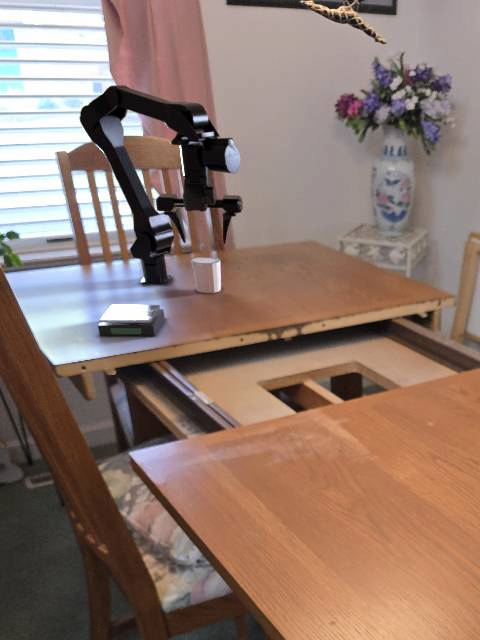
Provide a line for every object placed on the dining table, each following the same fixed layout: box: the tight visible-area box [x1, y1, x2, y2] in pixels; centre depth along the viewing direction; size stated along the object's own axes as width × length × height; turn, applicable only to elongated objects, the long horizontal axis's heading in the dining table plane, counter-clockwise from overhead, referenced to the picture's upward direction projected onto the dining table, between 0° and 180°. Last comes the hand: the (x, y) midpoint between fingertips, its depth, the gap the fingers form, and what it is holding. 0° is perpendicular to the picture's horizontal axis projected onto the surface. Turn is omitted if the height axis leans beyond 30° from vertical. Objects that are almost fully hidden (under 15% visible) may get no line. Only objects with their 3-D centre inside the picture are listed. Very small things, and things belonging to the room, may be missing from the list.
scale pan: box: [99, 304, 161, 323], centre depth 148 cm, size 10×10×1 cm
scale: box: [97, 308, 166, 337], centre depth 149 cm, size 11×11×3 cm
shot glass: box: [190, 256, 222, 294], centre depth 171 cm, size 7×7×7 cm
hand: (204, 243), depth 167 cm, fingers open, 9 cm apart
